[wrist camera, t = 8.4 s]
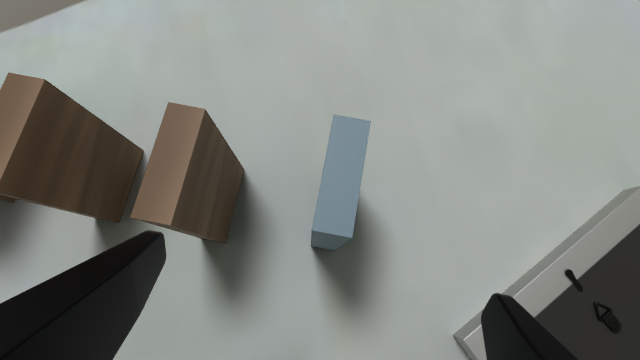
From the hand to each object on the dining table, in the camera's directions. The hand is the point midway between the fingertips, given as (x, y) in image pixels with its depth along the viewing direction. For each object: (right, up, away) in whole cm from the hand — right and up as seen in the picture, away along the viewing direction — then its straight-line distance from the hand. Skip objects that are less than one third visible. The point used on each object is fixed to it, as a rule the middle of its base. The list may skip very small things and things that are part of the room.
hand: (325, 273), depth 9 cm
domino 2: (-7, +1, +13) cm, 15 cm away
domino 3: (0, +1, +13) cm, 13 cm away
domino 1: (-13, +2, +13) cm, 19 cm away
